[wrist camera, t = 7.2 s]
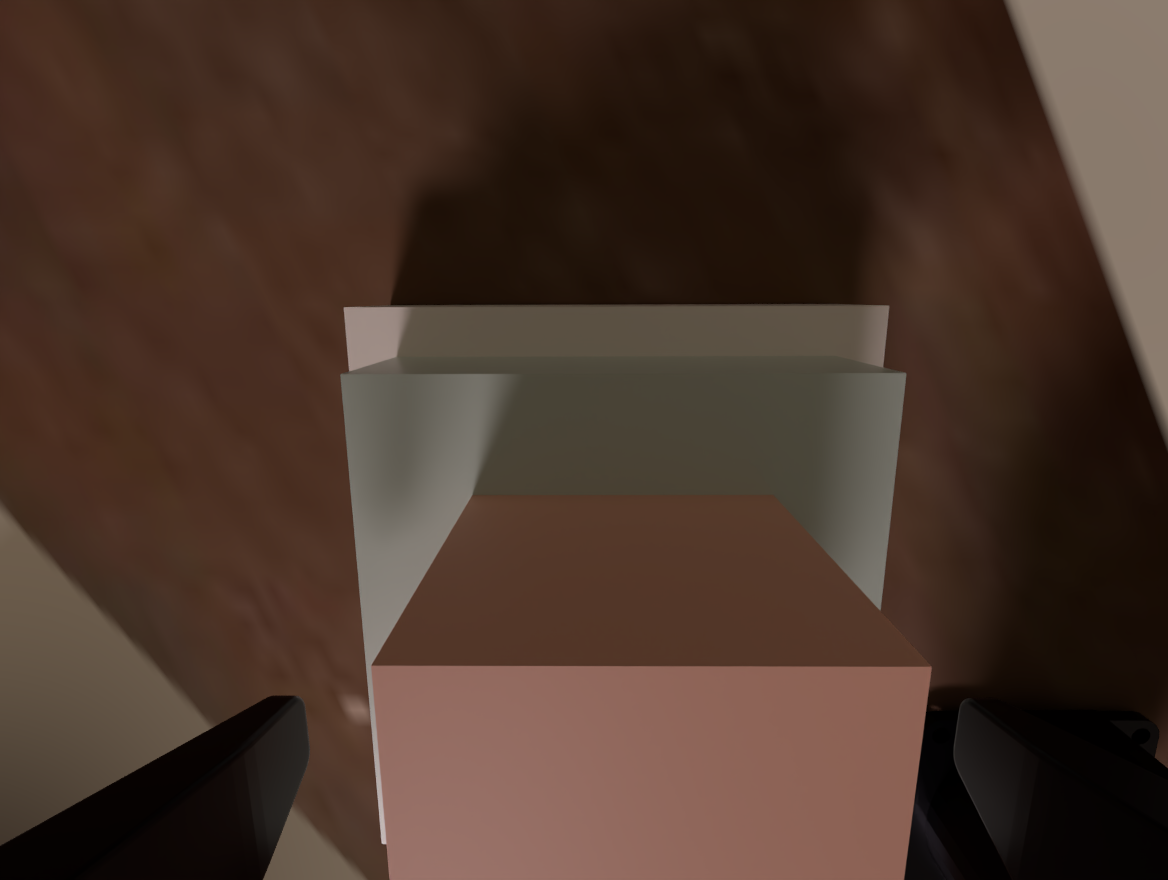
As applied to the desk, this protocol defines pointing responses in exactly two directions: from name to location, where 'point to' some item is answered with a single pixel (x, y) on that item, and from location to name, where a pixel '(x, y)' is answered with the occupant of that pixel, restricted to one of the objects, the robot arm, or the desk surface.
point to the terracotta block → (644, 700)
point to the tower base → (612, 423)
